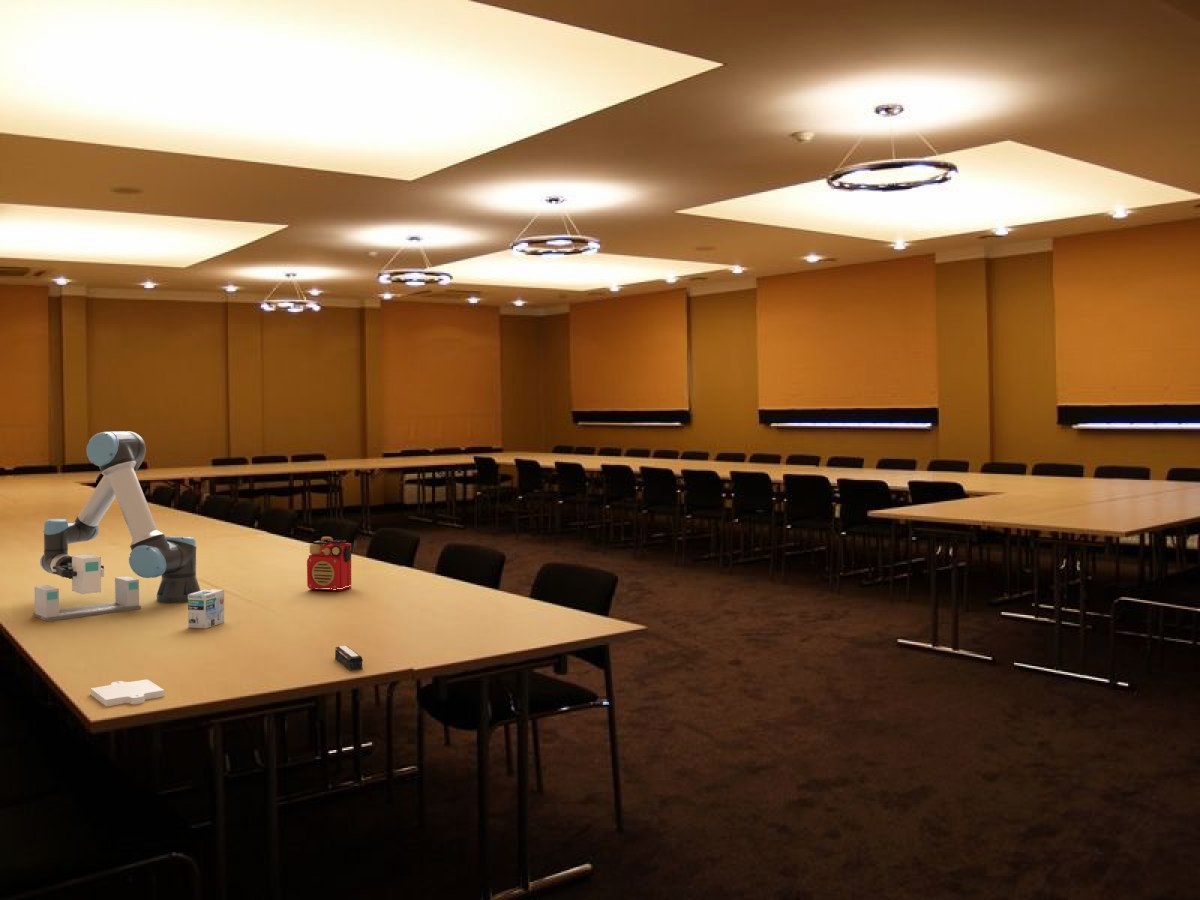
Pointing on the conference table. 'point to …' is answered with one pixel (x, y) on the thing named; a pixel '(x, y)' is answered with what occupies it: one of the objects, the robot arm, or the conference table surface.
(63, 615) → the rail board
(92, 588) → the block
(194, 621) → the light bulb box
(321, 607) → the conference table surface
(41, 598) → the block
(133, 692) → the mounting plate
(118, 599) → the block
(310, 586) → the radio
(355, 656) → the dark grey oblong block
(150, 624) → the conference table surface
